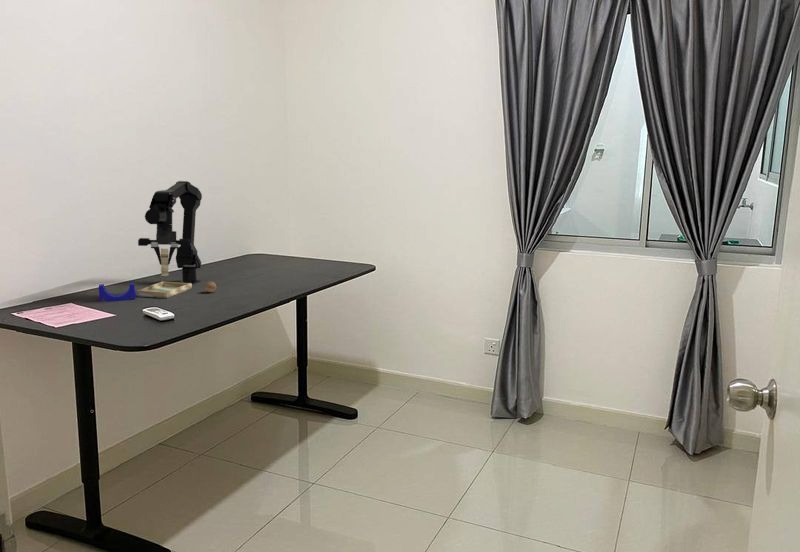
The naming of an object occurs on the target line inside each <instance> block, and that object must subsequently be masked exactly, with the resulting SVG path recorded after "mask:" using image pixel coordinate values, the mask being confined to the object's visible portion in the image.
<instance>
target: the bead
mask: <svg viewBox="0 0 800 552" xmlns="http://www.w3.org/2000/svg"><path fill="white" fill-rule="evenodd" d="M204 289H205V292H207V293H209V294H210V293H211V294H212V293H214V292H215V291H216V289H217V285H216V282H214V281H207V282H206V283H205V284H204Z"/></svg>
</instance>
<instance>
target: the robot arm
mask: <svg viewBox="0 0 800 552" xmlns="http://www.w3.org/2000/svg"><path fill="white" fill-rule="evenodd" d="M177 199H179V200H180V201H179V203H180V205H181V207H182V208H183V217H182V236H181V238H179V239H177V231H175V230H173V214H174V213H175V211H174V209H173V208H174V205H176V203H177ZM202 199H203V195H202V192H201V191H200V189H199V188H198V187H197V186H195V185H193V184H191V182H190V181H188V180H185V181H184V180H178V181H176V182H175V184H173V185H171V186H170V187H169V188H167V189H161V190H157V191H155V192H154V194H153V195H152V199H151V200H150V204H149V209H148V210H147V211H146V212H145V214H144V220H145V221H146V222H147V223H148V224H149V225H156V234H155V238H156V239H151V238H150V237H149V238H148V237H140V238H138V239H137V240H138V241H137V246H138V247H143V246H144V247H148V246H149V245H150V248H151V249H154V252H155V254H156V255H157V259H158V263H159V265H160V266H161V248H160V246H161V245H169V250H168V266H169V265H170V263H171V260H172V258H173V257H172V256H173V255H174V252H175V250H176V256H175V262H176V267H177V269H181V270H182V273H181V274H182V275H181V276H182V280H180V281H179V282H178V283H191V284H196V283H197V282H201V279H198V272H197V271H198V270H197V269H201V267H202V260H201V258H200V257H199V255H198V250H197V248H196V246H195V234H196V233H195V229H196V214H197V210H198V209H199V207H200V206H201V201H202Z"/></svg>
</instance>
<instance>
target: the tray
mask: <svg viewBox="0 0 800 552" xmlns="http://www.w3.org/2000/svg"><path fill="white" fill-rule="evenodd" d="M192 285H193V283H180V282H178V281H176V282H175V281H173V282H172V281H161V282H157V283H154V284H150V285H149V286H145V287H143V288H140V289H137V290H135V295H136V297H141V298H154V297H156V299H170V298H172V297H174V295H175V296H177V295H180V294H181V293H184V292H188V291H190V290H192V287H193V286H192ZM169 297H170V298H169Z"/></svg>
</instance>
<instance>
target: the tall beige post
mask: <svg viewBox="0 0 800 552" xmlns="http://www.w3.org/2000/svg"><path fill="white" fill-rule="evenodd" d="M160 255H161V265H160V273H161V277H163V276H164V277H168V276H169V265H168V259H169V248H160Z"/></svg>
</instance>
